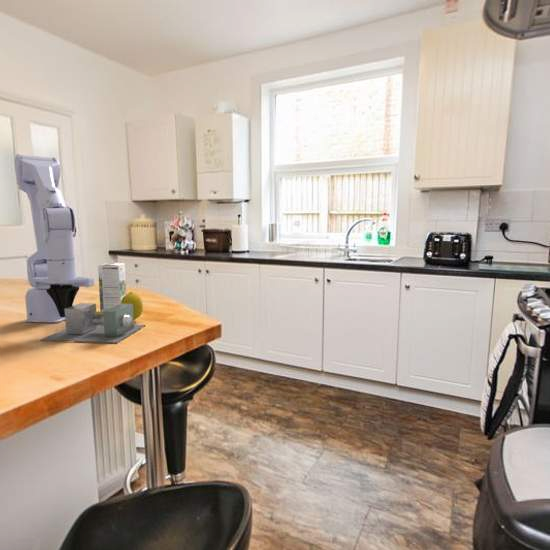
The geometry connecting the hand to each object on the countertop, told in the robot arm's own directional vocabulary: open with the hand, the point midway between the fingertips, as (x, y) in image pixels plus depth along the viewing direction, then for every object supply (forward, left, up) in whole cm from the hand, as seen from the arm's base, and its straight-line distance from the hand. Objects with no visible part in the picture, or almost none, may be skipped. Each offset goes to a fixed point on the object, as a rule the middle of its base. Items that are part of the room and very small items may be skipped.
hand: (65, 316), depth 91 cm
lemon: (+11, +11, -4) cm, 16 cm away
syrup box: (+2, +19, -4) cm, 19 cm away
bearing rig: (+12, 0, -4) cm, 12 cm away
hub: (+4, 0, -4) cm, 6 cm away
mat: (+8, 0, -4) cm, 9 cm away
